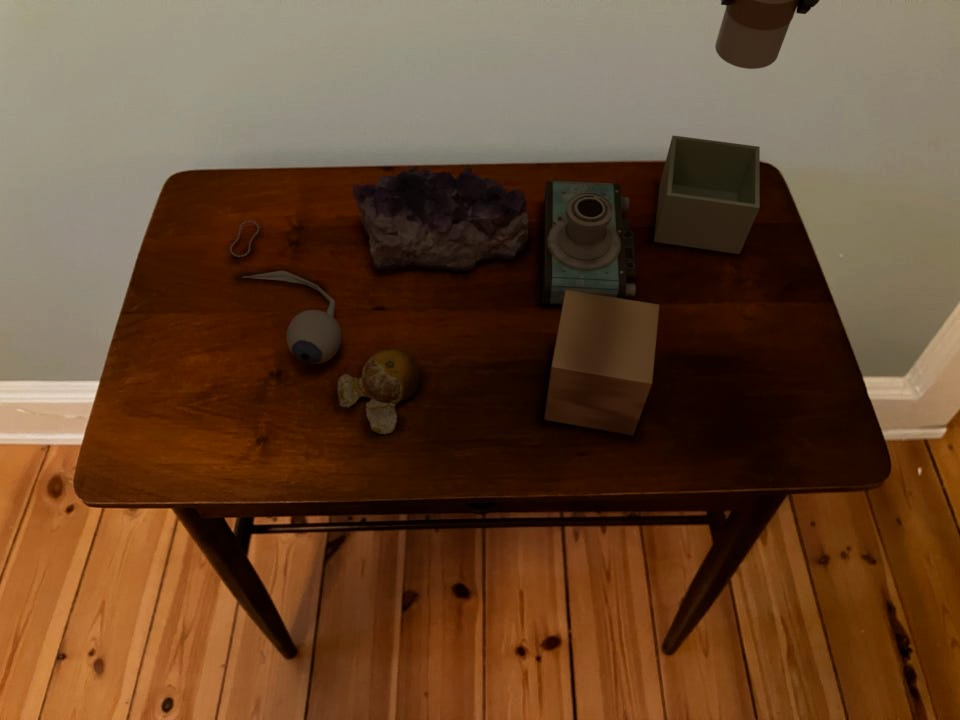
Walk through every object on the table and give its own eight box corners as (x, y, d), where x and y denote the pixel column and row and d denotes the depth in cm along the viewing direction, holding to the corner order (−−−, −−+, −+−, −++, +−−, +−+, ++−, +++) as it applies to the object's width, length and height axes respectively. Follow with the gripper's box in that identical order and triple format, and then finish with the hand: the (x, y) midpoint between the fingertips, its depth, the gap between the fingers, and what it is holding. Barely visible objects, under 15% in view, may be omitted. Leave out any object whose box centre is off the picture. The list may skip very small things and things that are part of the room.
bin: (740, 194, 92) (759, 146, 85) (739, 254, 86) (759, 207, 80) (659, 183, 93) (672, 135, 87) (653, 241, 88) (666, 194, 81)
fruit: (327, 393, 76) (321, 375, 73) (385, 344, 80) (381, 324, 77) (383, 441, 73) (379, 423, 70) (441, 387, 77) (439, 368, 74)
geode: (524, 200, 92) (533, 144, 83) (529, 280, 87) (538, 230, 78) (360, 199, 91) (350, 142, 82) (354, 279, 86) (343, 229, 77)
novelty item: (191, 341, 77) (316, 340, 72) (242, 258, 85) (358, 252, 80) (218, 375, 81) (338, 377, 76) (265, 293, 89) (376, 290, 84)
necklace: (226, 255, 87) (225, 252, 86) (244, 220, 89) (243, 217, 88) (246, 260, 86) (245, 257, 86) (263, 224, 89) (262, 222, 88)
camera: (549, 140, 83) (638, 144, 83) (544, 202, 91) (625, 205, 91) (548, 251, 74) (648, 255, 74) (542, 308, 82) (632, 312, 82)
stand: (641, 361, 78) (659, 304, 70) (633, 435, 74) (652, 383, 65) (557, 347, 79) (565, 289, 71) (543, 420, 75) (551, 366, 66)
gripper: (728, -257, 55) (684, -15, 59) (928, -243, 54) (870, 4, 58) (711, -203, 63) (673, 9, 66) (887, -189, 61) (838, 27, 65)
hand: (765, 6), depth 62 cm, fingers closed on paper cup, 5 cm apart
